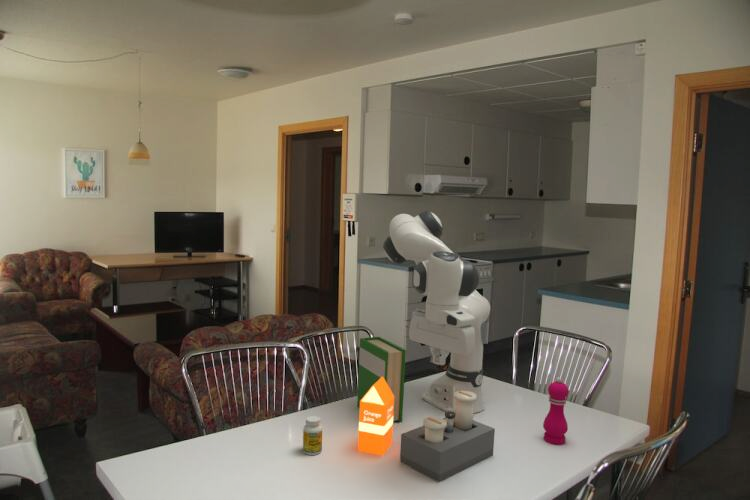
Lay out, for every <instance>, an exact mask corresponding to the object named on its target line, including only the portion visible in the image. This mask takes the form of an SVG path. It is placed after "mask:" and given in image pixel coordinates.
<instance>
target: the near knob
mask: <svg viewBox="0 0 750 500" xmlns="http://www.w3.org/2000/svg"><path fill="white" fill-rule="evenodd" d="M422 426H424V427H425V440H427V441H429V442H431V443H434V444H437V443H439V442H442V441H443V433H444V429H445V428H446V426H447V422H446V420H444V419H443V418H442V417H438V416H427V417H424V418H423V420H422Z"/></svg>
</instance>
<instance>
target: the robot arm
mask: <svg viewBox="0 0 750 500" xmlns="http://www.w3.org/2000/svg"><path fill="white" fill-rule="evenodd" d="M443 230H444V228H443V225H442V221H441V219H440V218H439V217H438V216H437V215H436V214H435V213H433V212H431V210H423V211H421V212H420V213H418V215H416V216H412V215H410V214H408V213H400V214H397V215H395V216H393V218H392V219H391V221H390V222H389V225H388V231H389V236H387V238H386V239H385V240H384V242H383V245H382V248H383V250H384V254H385V256H386V257H387V258H388V259H389V261H391V262H393V263H394V264H396V265H402V264H404V263H407V262H408V261H412V262H413V261H414V263H415V266H414V268H413V269H412V270H413V271H412V279H411V280H412V281H411V282H412V287H413V288H414V290H415V291H416V292H417V293H418V294H420V295H425V296H427V297H426V299H425V308H422V307H415V309H413V311H412V312H411V319H410V323H409V330H408V337H409V339H410V341H413V342H416V343H420V344H423V345H427V346H429V350H430V353H431V355H432V363H433V364H436V365H438V366H443V370H446V371H445V373H444V374H443V375H441V376H439V377H438V378H436V379H434V380H433V381H432V382H431V384H430V386H429V391H427V392H425V393H423V395H422V397H421V398H422V400H423V401H426V402H427V403H429V404H431V405H433V406H435V407H436V408H439V409H440V410H442V411H444V412H447V411H451V412H454V413H455V410H456V399H455V398H454V392H456V391H470V392H473V393H475V394H476V395H477V398H476V401H474V406H473V414H476V413H480V412H482V411H483V410H485V406H484V400H483V392H482V384H483V378H484V376H483V375H484V368H483V357H484V355H483V354H484V344H483V341H482V333H481V327H482V324H484V323H485V322H486V321H487V320H488V318H489V316H490V313H491V304H490V302H489V301H488V299H487V298H486V297H485V296H483V295H481V293H479V291H477V288H478V287H479V283H480V276H479V275H480V274H479V271H478V269H477V268H476V266H475V265H474V264H473V263H472V262H471V261H470V260H465V259H464V258H463V257H462V256H461V255H460V254H459V253H458V252H457V251H456V250H454V249H453V248H452V247H451V246H450V245H449V244H448V243H446V242H445V241H443V240H442V239H440V238H441V237H442V234H443ZM438 350H440V353H441V355H440V354H439V351H438ZM449 355H450V362H449V364H447V365H445V364H446V360H447V358H448V356H449Z"/></svg>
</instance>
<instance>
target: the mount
mask: <svg viewBox="0 0 750 500" xmlns="http://www.w3.org/2000/svg"><path fill="white" fill-rule="evenodd" d="M445 418H446V417H445V416H444V417H443V418H442V419H444V420H445ZM454 426H455V418H454ZM495 431H496V429H495V428H494V427H491V426H489V425H486V424H485V423H481V422H479V421H476V420H474V419H473V421H472V429H470V430H468V431H466V432H465V431H463V430H460V429H458V428H455V427H454V430H453V433H447V432H445V429H444V433H443V441H442V442H439V443H437V444H434V443H431V442H429V441H427V440H425V427H424V426H423V425H421V426H419V427H416V428H413V429H411V430H408V431H405V432H403V433H401V435H400V438H401V439H400V451H399V452H400V454H399V462H400V463H401V464H403V465H405V466H407V467H408V468H411V469H413V470H415V471H417V472H419V473H421V474H423V475H424V476H427V477H428V478H430V479H432V480H434V481H436V482H438V483H440V482H442V481H444V480H446V479H448V478H450V477H453V476H455V475H456V474H459V473H460V472H462V471H465V470H466V469H469V468H471V467H472V466H474V465H476V464H478V463H479V464H480V462H481V463H482V461H485V460H487V459H488V458H490V457H493V456H494V446H495V435H496V434H495V433H496V432H495Z"/></svg>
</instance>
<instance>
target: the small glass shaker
mask: <svg viewBox="0 0 750 500" xmlns="http://www.w3.org/2000/svg"><path fill="white" fill-rule="evenodd" d="M455 415H456V414H455V412H451V411H447V412H446V411H444V418H445V417H446V418H445V420H446V422H447V426H446V428H445V432H447V433H453V430H454V418H455Z"/></svg>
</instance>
